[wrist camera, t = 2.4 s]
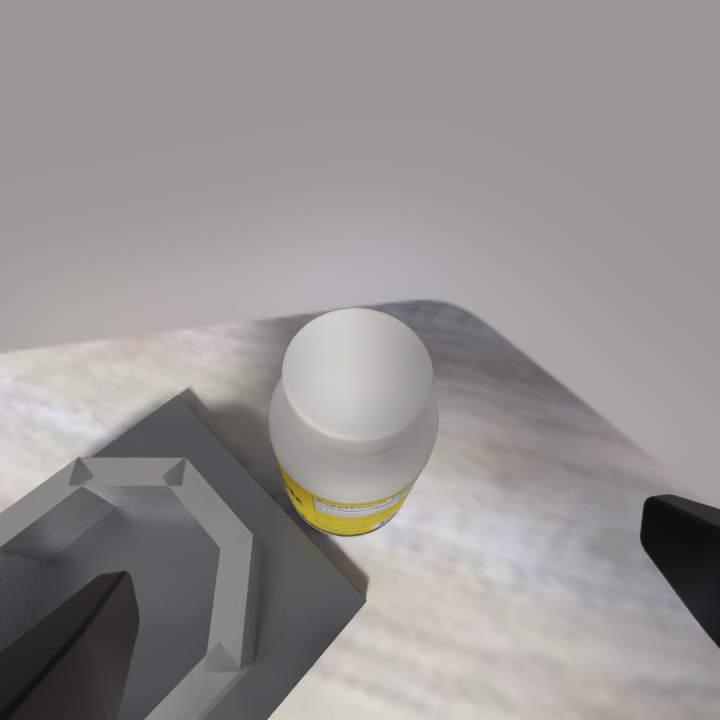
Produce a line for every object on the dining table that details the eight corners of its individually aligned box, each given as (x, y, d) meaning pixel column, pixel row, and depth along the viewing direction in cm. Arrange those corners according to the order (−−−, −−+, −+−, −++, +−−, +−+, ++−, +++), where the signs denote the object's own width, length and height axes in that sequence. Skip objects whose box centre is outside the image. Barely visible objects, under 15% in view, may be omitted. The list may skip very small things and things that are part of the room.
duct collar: (70, 952, 13) (-19, 1063, 9) (-99, 611, 16) (-205, 606, 13) (365, 601, 17) (374, 595, 14) (182, 402, 21) (156, 361, 18)
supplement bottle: (289, 419, 21) (265, 282, 13) (402, 420, 22) (451, 287, 13) (280, 541, 18) (242, 467, 10) (411, 540, 19) (479, 469, 10)
